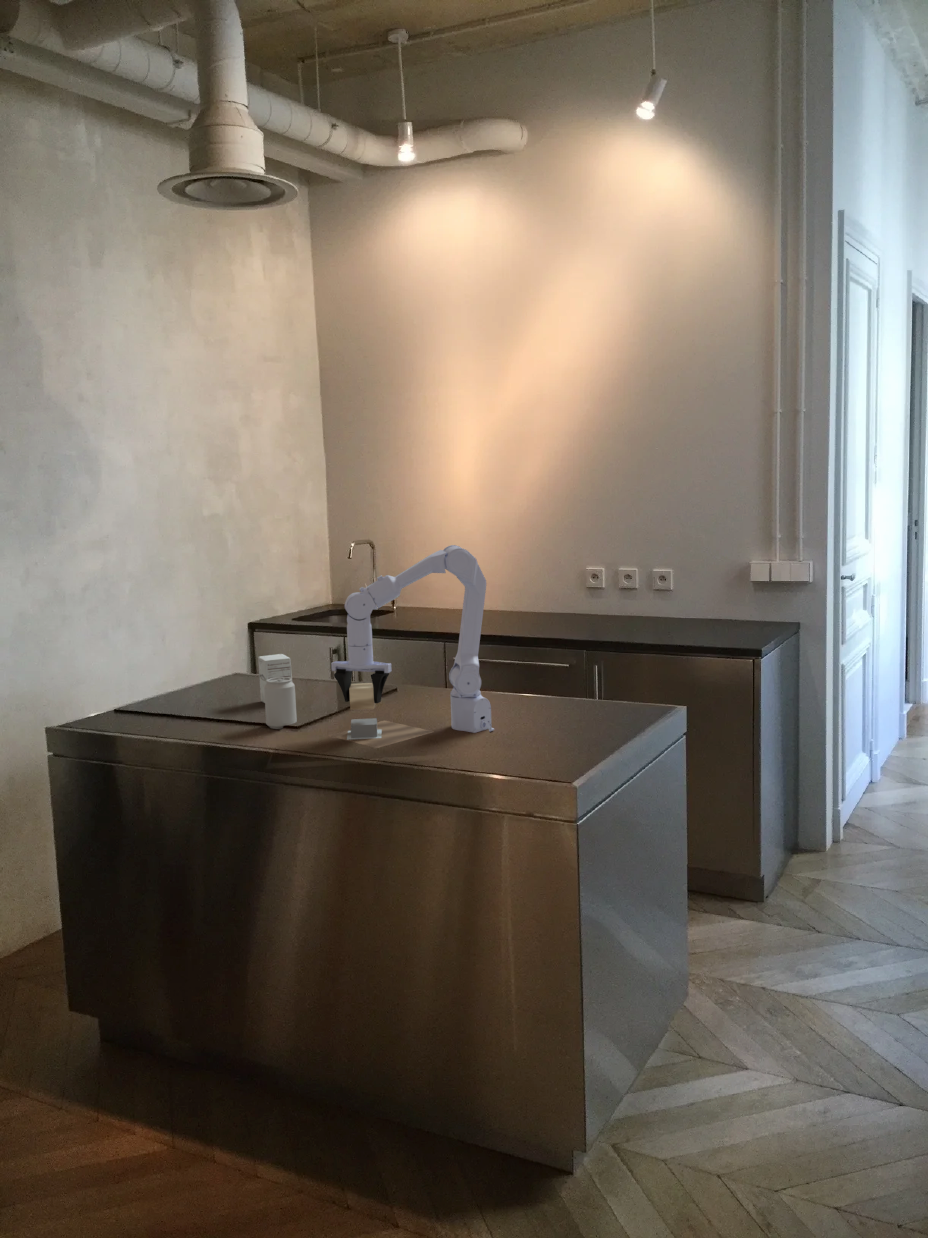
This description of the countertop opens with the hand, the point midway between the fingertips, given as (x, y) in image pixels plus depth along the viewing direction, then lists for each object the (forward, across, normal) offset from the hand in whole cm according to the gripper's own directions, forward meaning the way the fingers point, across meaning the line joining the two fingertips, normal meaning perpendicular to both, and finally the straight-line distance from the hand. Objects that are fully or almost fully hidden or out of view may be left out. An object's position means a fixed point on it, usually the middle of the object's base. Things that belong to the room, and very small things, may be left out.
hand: (362, 701), depth 257 cm
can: (+9, +26, -6) cm, 28 cm away
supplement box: (+9, +40, -30) cm, 51 cm away
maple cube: (+1, 0, 0) cm, 1 cm away
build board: (+9, -4, -2) cm, 10 cm away
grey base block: (+8, 0, 0) cm, 8 cm away
